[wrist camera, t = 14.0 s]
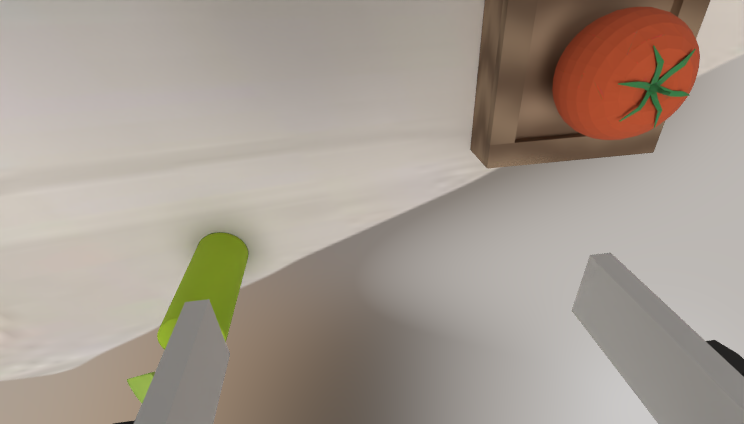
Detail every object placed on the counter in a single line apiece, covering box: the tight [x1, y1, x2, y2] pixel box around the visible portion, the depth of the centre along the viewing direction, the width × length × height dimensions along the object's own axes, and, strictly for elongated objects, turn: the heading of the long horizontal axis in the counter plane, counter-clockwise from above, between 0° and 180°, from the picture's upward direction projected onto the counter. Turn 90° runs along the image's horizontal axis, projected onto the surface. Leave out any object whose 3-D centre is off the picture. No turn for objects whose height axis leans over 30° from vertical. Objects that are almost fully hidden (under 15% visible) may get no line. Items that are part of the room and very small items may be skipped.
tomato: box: [552, 7, 700, 140], centre depth 30 cm, size 10×10×10 cm
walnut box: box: [470, 0, 710, 168], centre depth 36 cm, size 18×18×5 cm
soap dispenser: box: [127, 233, 248, 403], centre depth 37 cm, size 6×7×20 cm
